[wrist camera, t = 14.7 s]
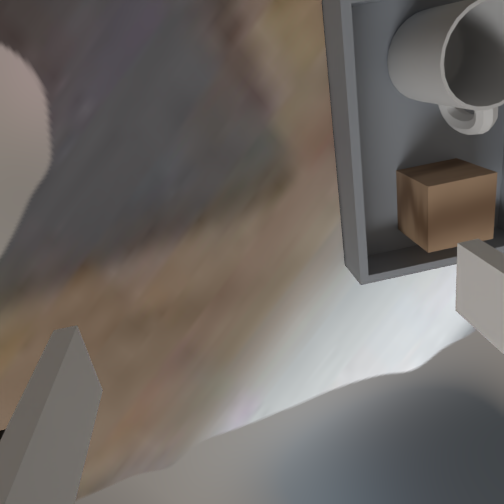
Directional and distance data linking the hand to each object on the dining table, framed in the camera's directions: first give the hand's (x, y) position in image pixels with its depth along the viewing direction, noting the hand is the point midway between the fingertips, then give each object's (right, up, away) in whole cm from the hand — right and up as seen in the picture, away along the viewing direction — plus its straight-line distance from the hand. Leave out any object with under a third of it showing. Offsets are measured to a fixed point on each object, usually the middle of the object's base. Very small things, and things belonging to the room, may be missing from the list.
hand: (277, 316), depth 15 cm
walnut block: (+16, +8, +28) cm, 33 cm away
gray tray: (+15, +13, +26) cm, 33 cm away
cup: (+14, +18, +23) cm, 33 cm away
